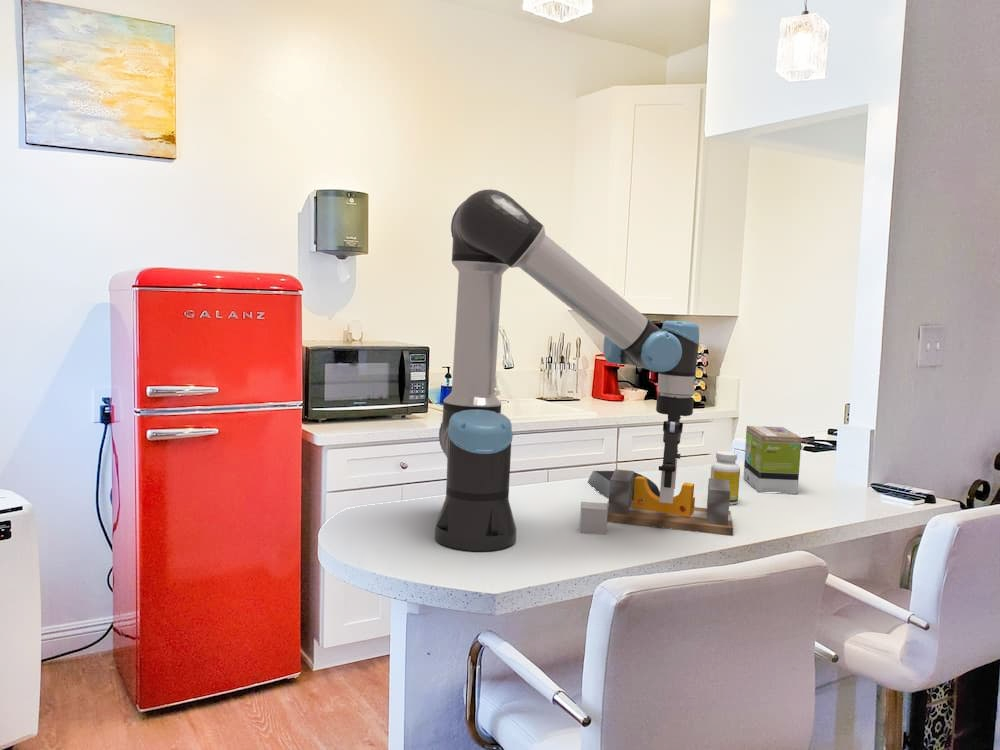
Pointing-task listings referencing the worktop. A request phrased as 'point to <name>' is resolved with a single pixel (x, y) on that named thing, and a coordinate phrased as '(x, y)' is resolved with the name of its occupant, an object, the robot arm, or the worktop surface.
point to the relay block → (593, 518)
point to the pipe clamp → (680, 506)
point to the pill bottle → (727, 472)
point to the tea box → (772, 459)
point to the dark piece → (602, 483)
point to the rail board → (701, 520)
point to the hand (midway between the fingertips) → (667, 495)
